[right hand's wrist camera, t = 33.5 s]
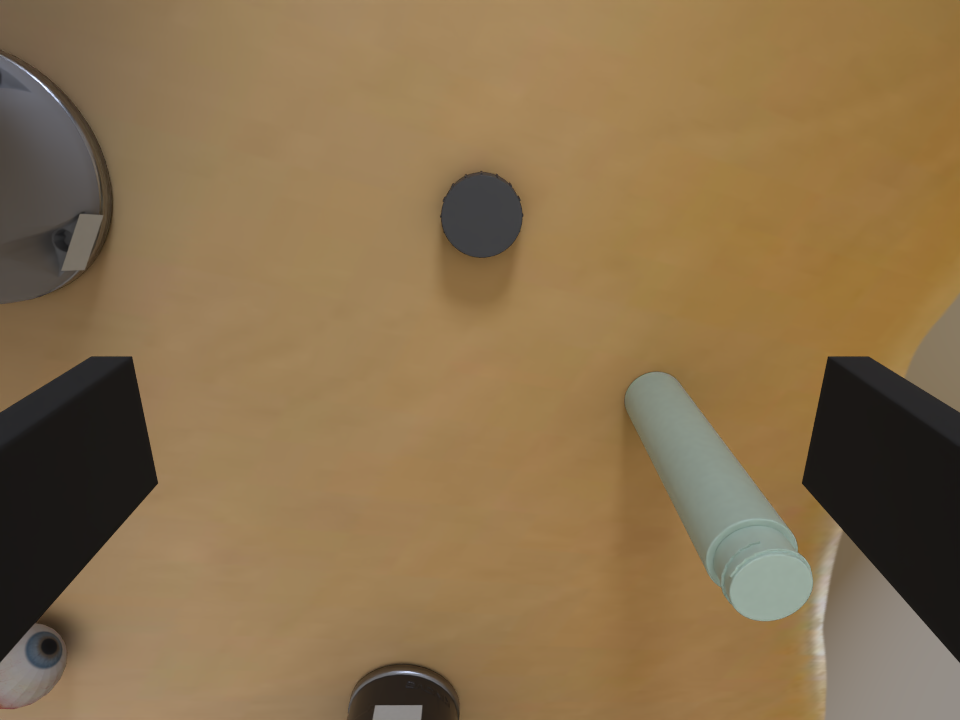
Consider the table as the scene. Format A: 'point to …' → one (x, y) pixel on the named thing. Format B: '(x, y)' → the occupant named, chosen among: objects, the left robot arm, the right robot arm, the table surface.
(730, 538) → the bottle
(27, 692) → the eyeball
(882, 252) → the table surface
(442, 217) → the lid
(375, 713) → the left robot arm
